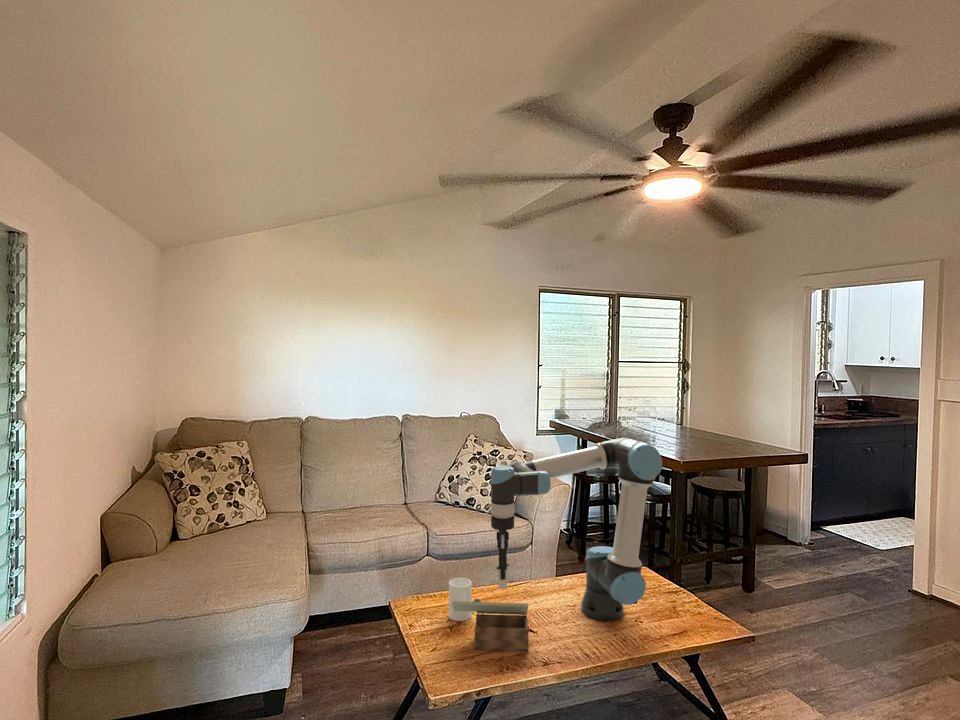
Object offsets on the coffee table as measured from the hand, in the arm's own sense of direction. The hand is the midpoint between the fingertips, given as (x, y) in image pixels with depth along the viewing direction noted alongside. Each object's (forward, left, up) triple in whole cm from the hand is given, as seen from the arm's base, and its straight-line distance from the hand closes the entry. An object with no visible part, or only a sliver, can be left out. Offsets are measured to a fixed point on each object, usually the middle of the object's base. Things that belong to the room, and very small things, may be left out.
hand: (502, 587), depth 171 cm
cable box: (0, -1, -19) cm, 19 cm away
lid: (+4, -2, -9) cm, 10 cm away
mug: (+15, -17, -19) cm, 29 cm away
